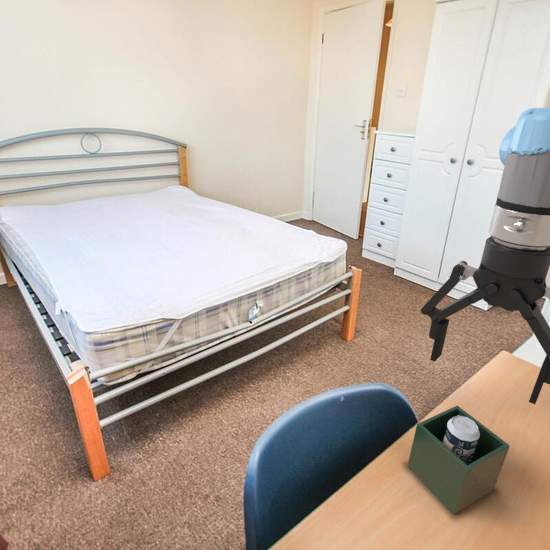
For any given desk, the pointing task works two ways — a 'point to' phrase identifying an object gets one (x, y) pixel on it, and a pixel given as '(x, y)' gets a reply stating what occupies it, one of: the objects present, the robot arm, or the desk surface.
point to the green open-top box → (455, 462)
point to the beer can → (462, 437)
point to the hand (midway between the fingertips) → (481, 376)
